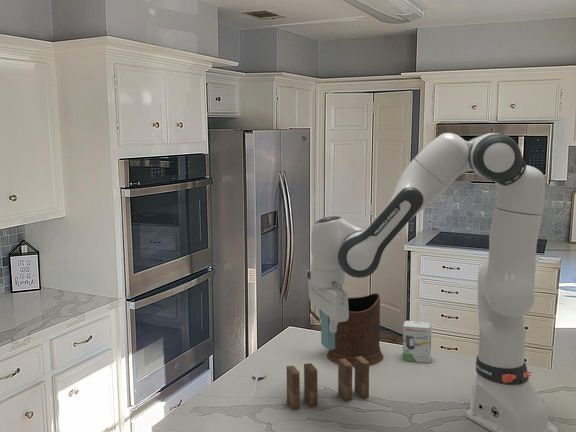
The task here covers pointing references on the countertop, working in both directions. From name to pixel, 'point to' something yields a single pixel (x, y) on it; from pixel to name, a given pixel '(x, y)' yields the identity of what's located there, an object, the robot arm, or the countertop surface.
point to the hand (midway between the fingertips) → (328, 327)
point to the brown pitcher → (358, 332)
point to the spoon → (257, 372)
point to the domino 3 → (326, 333)
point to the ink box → (416, 341)
